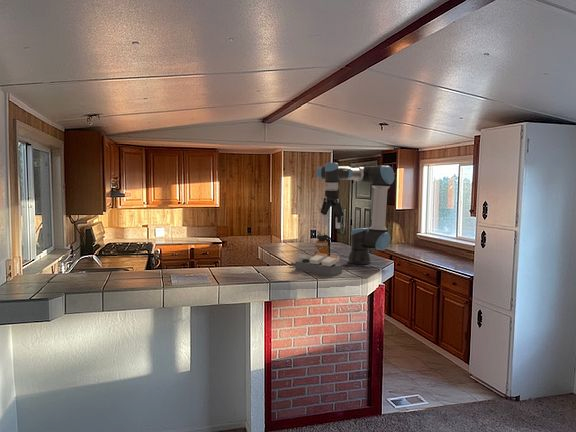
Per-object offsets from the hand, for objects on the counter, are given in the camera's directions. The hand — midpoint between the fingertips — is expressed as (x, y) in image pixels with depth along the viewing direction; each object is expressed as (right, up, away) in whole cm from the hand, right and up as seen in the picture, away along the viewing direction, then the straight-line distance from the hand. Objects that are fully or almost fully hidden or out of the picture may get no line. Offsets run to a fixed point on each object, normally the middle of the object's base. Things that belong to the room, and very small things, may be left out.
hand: (331, 227), depth 255 cm
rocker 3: (+1, -21, +9) cm, 23 cm away
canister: (-2, -26, +34) cm, 43 cm away
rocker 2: (-6, -21, +15) cm, 27 cm away
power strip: (-10, -27, +18) cm, 34 cm away
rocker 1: (-14, -20, +21) cm, 32 cm away
